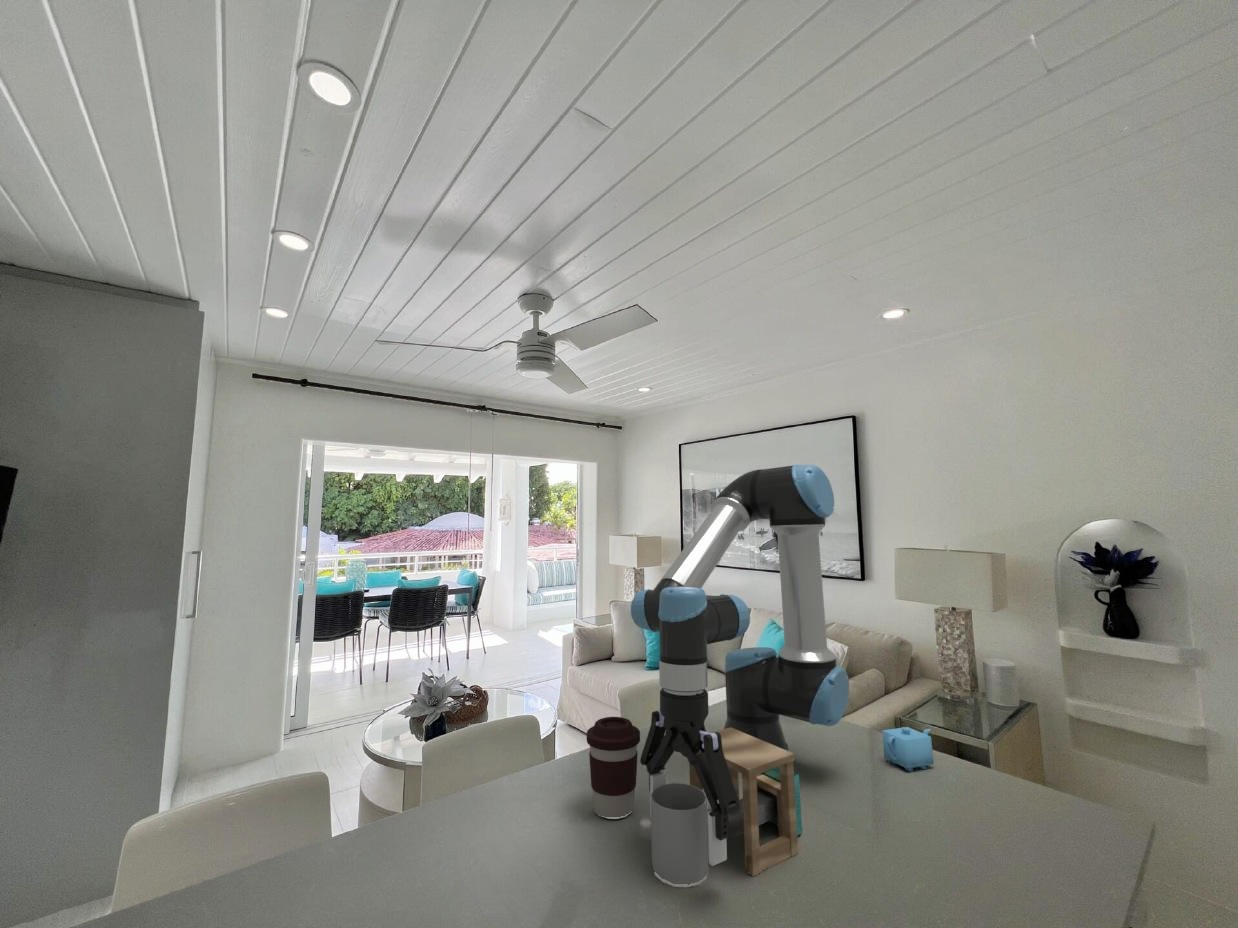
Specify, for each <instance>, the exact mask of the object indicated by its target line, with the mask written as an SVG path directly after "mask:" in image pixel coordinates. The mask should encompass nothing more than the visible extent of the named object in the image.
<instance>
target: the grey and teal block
mask: <svg viewBox="0 0 1238 928" xmlns="http://www.w3.org/2000/svg"><path fill="white" fill-rule="evenodd" d="M761 774H763V775H765V776H767V777H769V778H771V779H773V780H776V781H778V782H780V766H778V767H776V768H773V769H770V770H767V771H765V772H762V773H761ZM794 786H795V805H796V823H797V836H800V835H802V834H803V825H802V807H801V788H800V775H799V773H796V772H794ZM738 802H739V805H740V810H739V811H737V812H734V813H732V814H729V815H728V822H729V826H728V827H729V836H728V838H726V841H728V840H730V839H731V838H734V837H736V836H739V835H741V834H744V816H743V797H742V798H739V800H738ZM757 803H758V825H759V826H761V825H763V824H765V823H768V822H771V823H773V824H775V825H777V826H778V809H777V796H776V795H774V794H772V793H770V792H768V791H767V790H765V789H764V790H763V791H760V792H758V793H757ZM707 819H708V812H707ZM708 847H709V844H708Z"/></svg>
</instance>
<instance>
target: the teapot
mask: <svg viewBox="0 0 1238 928" xmlns="http://www.w3.org/2000/svg"><path fill="white" fill-rule="evenodd" d="M931 731H932V729H931V728H926V729H924V730H923V731H922V732H921V731H918V730H916V729H913V728H911V727H909V726H902V727H898V728H890V729H884V730H882V731H881V734H882V745H883V756H884V757H883V758H885V759H887V760H889V761H891V763H892V764H893V765H894V764H895V765H898V766H900V767H903V768H904V770H905V771H907V772H914V769H913V768H920V769H921V770H922V769H923V770H926V769H927V767H926V766H931V765H934V755H933V744H932V742H933V741H932V737H931V735H929V733H930V732H931Z"/></svg>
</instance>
